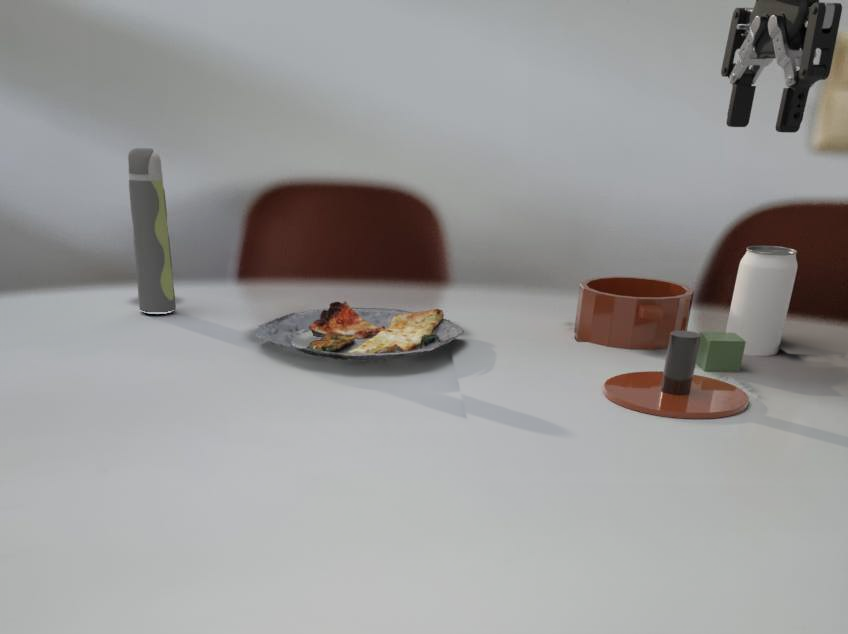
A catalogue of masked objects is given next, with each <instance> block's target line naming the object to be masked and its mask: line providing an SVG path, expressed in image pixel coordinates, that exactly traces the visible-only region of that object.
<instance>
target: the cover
mask: <svg viewBox="0 0 848 634" xmlns="http://www.w3.org/2000/svg"><path fill="white" fill-rule="evenodd" d="M700 338H701V335H700V332H695V331H692V330H687V331H673V332H671V333H670V337H669V343H668V348H667V350H666V355H665V361H664V367H663V371H657V370H655V371H654V370H653V371H651V370H649V371H634V372H626V373H621V374H617V375H614V376H612V377H610V378H608V379H606V381H605V382H604V384H603V388H602V393H603V395H604V396H605V398H607V399H608V400H609V401H611V402H613V403H614V404H616V405H618V406H621V407H622V408H626V409H629V410H632V411H636V412H640V413H644V414H648V415H653V416H660V417H667V418H677V419H692V420H697V419H698V420H701V419H702V420H704V419H705V420H706V419H717V418H725V417H731V416H735V415H737V414H740V413H742V412H744V411H745V410H746V409H747V408H748V406H749V399H750V397H749V395H748V394H747V393H746V392H745V391H744V390H743V389H742V388H739V387H738V386H736V385H734V384H731V383H729V382H726V381H722V380H721V379H720V380H719V379H716V378H713V377H712V378H711V377H708V376H703V375H699V374H698V375H697V374H695V369H696V365H697V364H696V359H697V354H698V349H699V343H700Z"/></svg>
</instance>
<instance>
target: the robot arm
mask: <svg viewBox="0 0 848 634" xmlns="http://www.w3.org/2000/svg"><path fill="white" fill-rule="evenodd" d="M842 12H843V5H842V3H841V2H822V1H821V2H820V0H755V3H754V5H753V7H735V9H734V10H733V12H732V16H731V21H730V25H729V31H728V35H727V40H726V45H725V48H724V49H725V50H724V56H723V59H722V64H721V69H720V70H721V71H720V74H721V75H720V76H722V77H725V78H726V77H727V78H728V79H729V84H730V85H731V86H732V87H731V88H732V89H731V93H730V98H729V104H728V109H727V114H726V115H727V116H726V126H727V127H728V128H729V127H730V128H746V127H747V126H748V125H749V123H750V119H751V113H752V109H753V103H754V98H755V93H756V88H757V86H756V85H755V84H756V82H757V80H758V79H759V77H760V75H762V72H763V70H764V68H765V67H768V66H770V65H771V64H772V62H773V61H774V59H776V63H777V65H778V66H779V67H781V68H782V72H783V78H784V83H785V87H783V89H782V94H781V97H780V103H779V109H778V112H777V119H776V122H775V131H776V132H777V133H793V134H794V133H797V132H798V131H799V130H800V128H801V124H802V122H803V119H804V115H805V114H804V113H805V110H806V109H805V108H806V106H807V101H808V96H809V92H810V90H811V88H812V87H813V86H814V85H815V83H817V82H819V81H825V80H827V79H828V78H829V75H830V74H831V69H832V64H833V58H834V54H835V48H836V43H837V38H838V33H839V28H840V22H841V18H842ZM817 49H818V50H820V56H819V61H818V64H816V63H815V64H814V60H815V58H817ZM736 52H737V58H738V60H737V61H736V62H734V61H735V57H736ZM750 66H751V67H750ZM797 67H798V68H799V69H798V68H797Z"/></svg>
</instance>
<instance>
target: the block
mask: <svg viewBox="0 0 848 634" xmlns="http://www.w3.org/2000/svg"><path fill="white" fill-rule="evenodd" d="M699 334H700V335H701V338H700V343H699V349H698V354H697V359H696V364H695V365H696V366H698V367H699V368H700V369H701V370H702V372H705V373H706V372H707V373H712V372H713V373H740V372H741V366H742V362H743V357H744V355H743V353H744V348H745V344H746V341H745V340H743V339H742V338H741V337H739V336H738V335H737V334H736V333H726V332H720V331H719V332H717V331H715V332H713V331H712V332H711V331H700V332H699Z"/></svg>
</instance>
